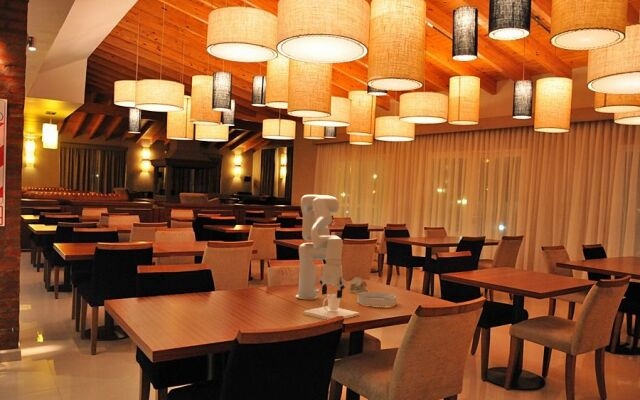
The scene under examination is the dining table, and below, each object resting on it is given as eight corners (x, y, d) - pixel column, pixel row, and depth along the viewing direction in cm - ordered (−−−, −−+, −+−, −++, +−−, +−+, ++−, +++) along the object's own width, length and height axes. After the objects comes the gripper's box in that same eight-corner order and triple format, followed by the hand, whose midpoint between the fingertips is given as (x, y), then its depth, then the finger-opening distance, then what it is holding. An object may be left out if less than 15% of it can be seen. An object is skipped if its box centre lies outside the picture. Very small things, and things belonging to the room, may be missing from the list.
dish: (373, 298, 310) (374, 290, 309) (404, 305, 294) (404, 296, 294) (348, 302, 294) (349, 293, 294) (379, 310, 278) (380, 300, 278)
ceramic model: (344, 291, 328) (345, 275, 328) (358, 290, 335) (359, 274, 335) (358, 295, 317) (359, 278, 317) (372, 294, 323) (373, 277, 323)
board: (328, 308, 275) (328, 305, 275) (359, 315, 262) (359, 312, 262) (303, 314, 260) (303, 311, 260) (334, 321, 247) (334, 318, 247)
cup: (343, 312, 262) (343, 296, 262) (327, 314, 256) (327, 297, 256) (334, 309, 267) (335, 293, 267) (318, 311, 261) (319, 294, 261)
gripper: (315, 260, 264) (313, 293, 264) (342, 265, 253) (340, 300, 253) (325, 259, 269) (323, 292, 270) (352, 263, 258) (350, 298, 259)
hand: (331, 296), depth 262 cm, fingers open, 9 cm apart
